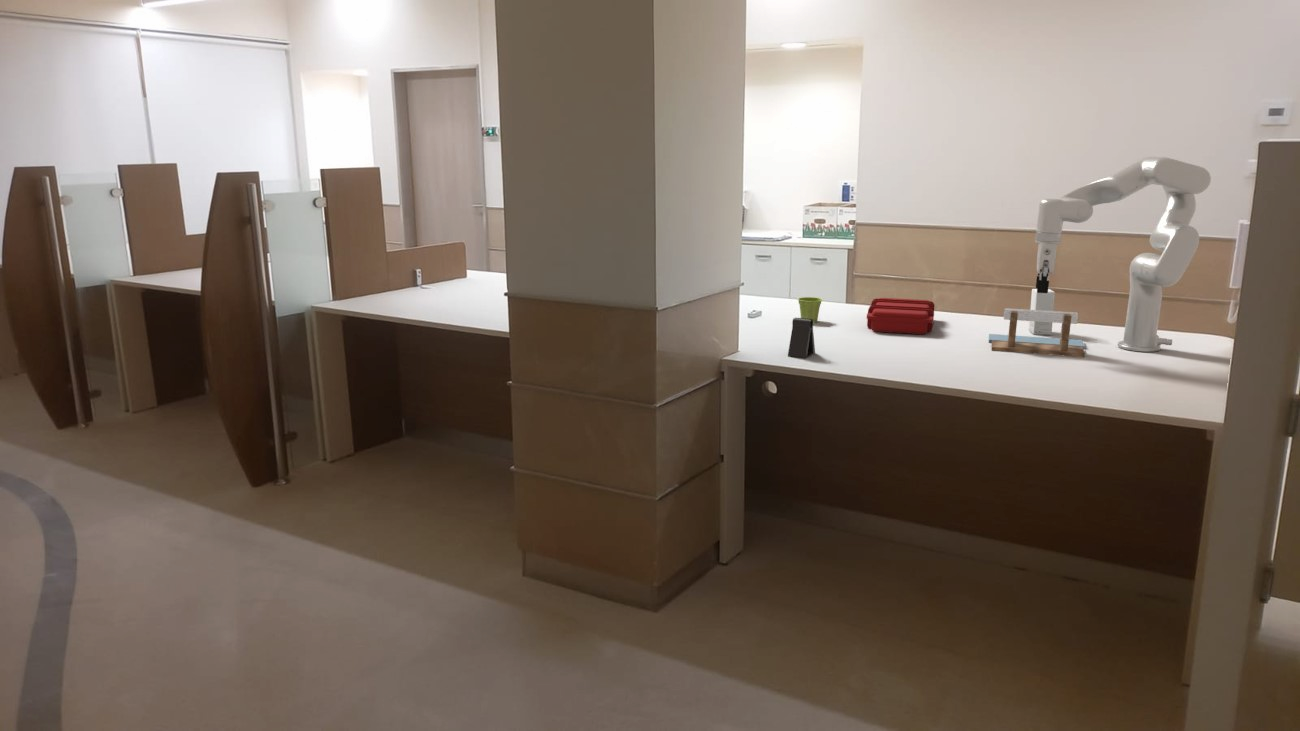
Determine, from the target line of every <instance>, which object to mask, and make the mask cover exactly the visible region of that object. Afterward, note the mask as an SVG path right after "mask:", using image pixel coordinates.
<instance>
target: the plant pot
mask: <svg viewBox="0 0 1300 731" xmlns="http://www.w3.org/2000/svg"><path fill="white" fill-rule="evenodd" d="M797 301H798V305H799V312H800V318H804V319H812V320H813V323H816V322H817V321H818V319H819V312H820V308H821V305H822V301H823V298H820V297H815V296H814V297H813V296H812V297H810V296H805V297H803V296H802V297H798V298H797Z"/></svg>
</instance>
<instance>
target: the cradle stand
mask: <svg viewBox="0 0 1300 731" xmlns="http://www.w3.org/2000/svg"><path fill="white" fill-rule="evenodd" d="M1017 317H1018V312H1011V320H1009V326H1008V327H1009V328H1008V334H1007V335H1008V342H1005V341H992V343H991V351H995V352H996V351H997V352H1009V353H1020V352H1021V353H1022V354H1023V353H1025V354H1034V353H1036V354H1037V355H1048V354H1052V355H1051V356H1062V355H1064V357H1077V358H1079V357H1080V358H1085V356H1086V353H1085V349H1083V347H1077V346H1068V343H1069V339H1070V332H1071V315H1064V323H1061V327H1060V328H1061V330H1060V337H1059V339H1060V345H1049V344H1034V343H1020V342H1015V337H1016V336H1017V325H1018V320H1017Z"/></svg>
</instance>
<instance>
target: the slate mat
mask: <svg viewBox="0 0 1300 731" xmlns="http://www.w3.org/2000/svg"><path fill="white" fill-rule="evenodd" d="M1008 335H1009V334H997V333H989V334H988V343H989V344H990V343H991V344H992V341H1005V342H1008ZM1015 342H1020V343H1034V344H1049V345H1060V338H1054V337H1043V336H1041V337H1040V336H1024V335H1016V337H1015ZM1068 346H1077V347H1083V350H1085V349H1086V346H1085V343H1084V341H1083V340H1082V339H1071V338H1069V343H1068Z"/></svg>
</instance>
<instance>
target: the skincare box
mask: <svg viewBox="0 0 1300 731" xmlns="http://www.w3.org/2000/svg"><path fill="white" fill-rule="evenodd" d="M1055 295H1056V292H1055V291H1054V290H1052V289H1050V288H1048V293H1037V288H1032V289H1031V296H1030V297H1031V298H1030V309H1029V310H1044V311H1055V309H1054V307H1055V297H1056V296H1055ZM1028 322H1029V323H1028V331H1029V333H1031V334H1032V335H1036V336H1037V335H1039V336H1052V334H1053V333H1052V332H1053V322H1037V321H1028Z"/></svg>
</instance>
